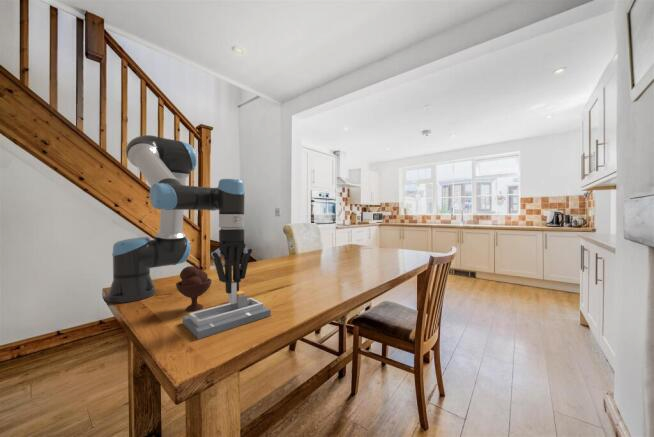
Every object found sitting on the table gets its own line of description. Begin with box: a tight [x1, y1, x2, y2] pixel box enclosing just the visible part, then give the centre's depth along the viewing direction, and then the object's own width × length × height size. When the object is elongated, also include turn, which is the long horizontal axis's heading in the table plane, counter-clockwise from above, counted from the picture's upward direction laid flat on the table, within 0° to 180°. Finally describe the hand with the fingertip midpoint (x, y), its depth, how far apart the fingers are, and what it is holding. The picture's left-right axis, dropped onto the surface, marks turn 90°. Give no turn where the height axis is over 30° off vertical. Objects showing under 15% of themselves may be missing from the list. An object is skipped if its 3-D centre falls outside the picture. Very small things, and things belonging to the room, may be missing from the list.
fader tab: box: [231, 289, 248, 310], centre depth 82 cm, size 5×3×6 cm, turn 44°
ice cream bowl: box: [175, 265, 212, 313], centre depth 89 cm, size 11×11×15 cm
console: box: [182, 297, 272, 340], centre depth 79 cm, size 14×22×4 cm, turn 135°
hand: (232, 302), depth 80 cm, fingers closed
